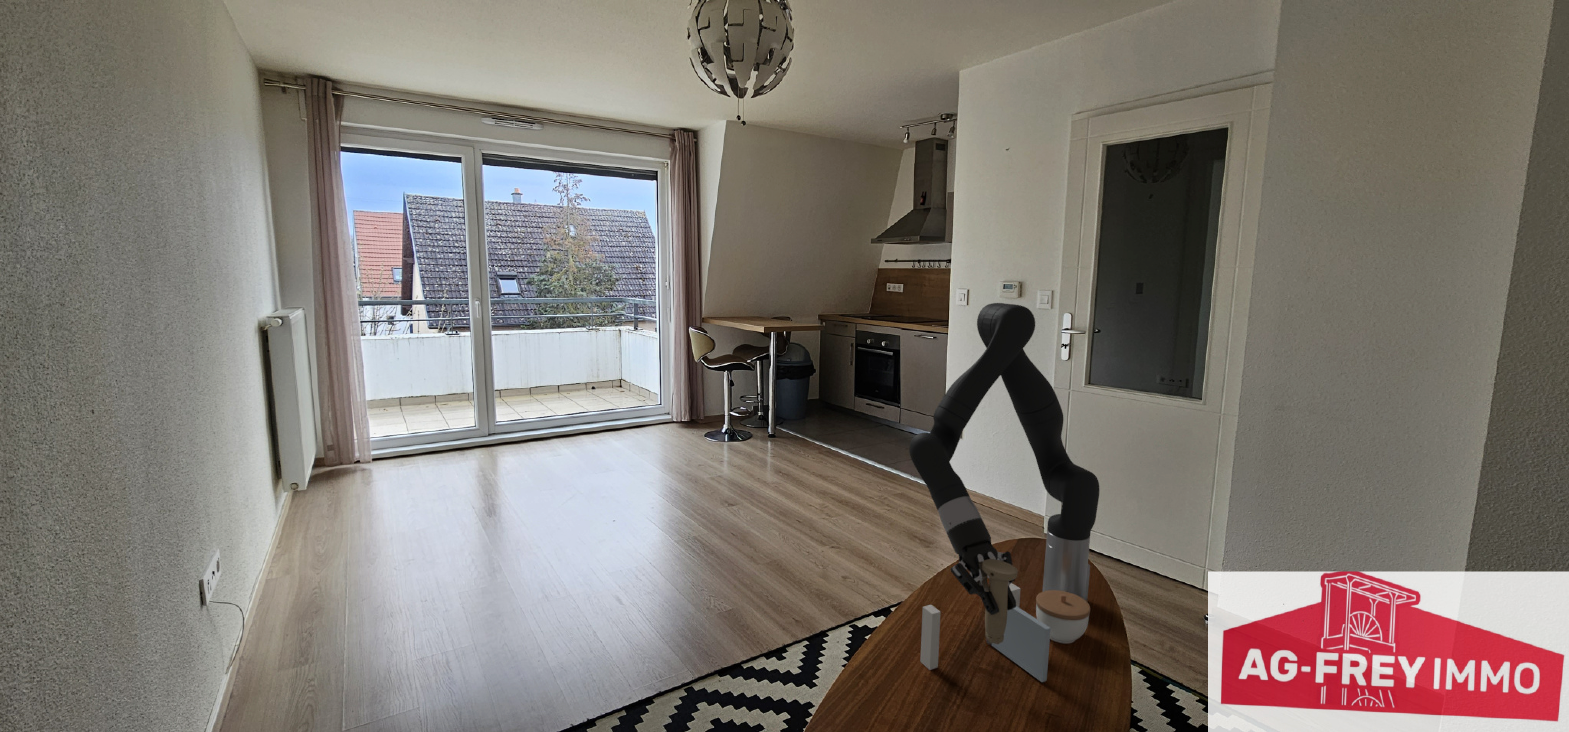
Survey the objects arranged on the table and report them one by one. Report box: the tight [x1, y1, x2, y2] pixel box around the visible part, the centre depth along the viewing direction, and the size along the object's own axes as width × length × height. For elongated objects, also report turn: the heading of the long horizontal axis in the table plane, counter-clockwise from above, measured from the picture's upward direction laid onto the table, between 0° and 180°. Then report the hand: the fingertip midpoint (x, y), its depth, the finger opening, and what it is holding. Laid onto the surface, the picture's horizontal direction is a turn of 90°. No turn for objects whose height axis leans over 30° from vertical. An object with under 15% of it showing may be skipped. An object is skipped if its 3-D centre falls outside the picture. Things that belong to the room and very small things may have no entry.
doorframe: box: [919, 582, 1021, 671], centre depth 139 cm, size 23×3×12 cm, turn 116°
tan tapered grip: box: [982, 559, 1019, 644], centre depth 127 cm, size 5×6×15 cm
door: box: [985, 606, 1051, 683], centre depth 135 cm, size 15×2×11 cm, turn 26°
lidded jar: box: [1035, 590, 1091, 645], centre depth 145 cm, size 11×11×9 cm
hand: (1003, 610), depth 126 cm, fingers closed on tan tapered grip, 3 cm apart
